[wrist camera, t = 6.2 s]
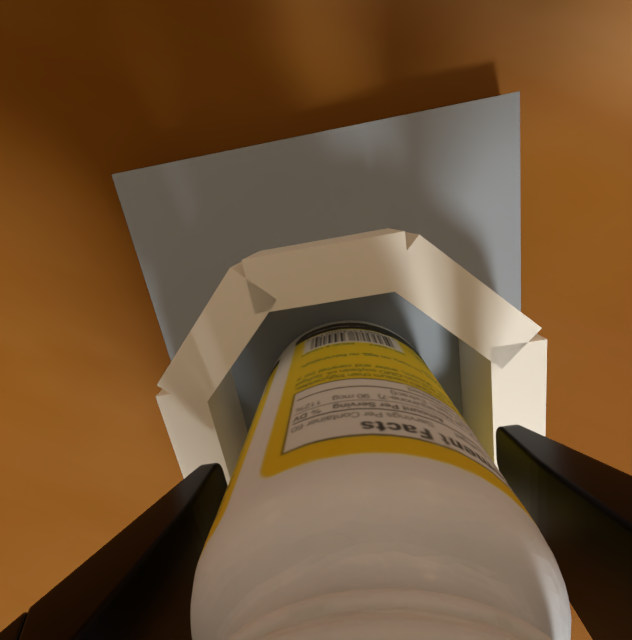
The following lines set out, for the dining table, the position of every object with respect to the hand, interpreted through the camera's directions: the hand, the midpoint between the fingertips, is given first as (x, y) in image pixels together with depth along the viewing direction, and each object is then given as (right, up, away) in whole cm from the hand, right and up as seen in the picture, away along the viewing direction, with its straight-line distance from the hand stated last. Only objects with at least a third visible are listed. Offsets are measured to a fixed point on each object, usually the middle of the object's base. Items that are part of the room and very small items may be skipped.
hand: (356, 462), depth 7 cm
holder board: (0, +1, +4) cm, 4 cm away
